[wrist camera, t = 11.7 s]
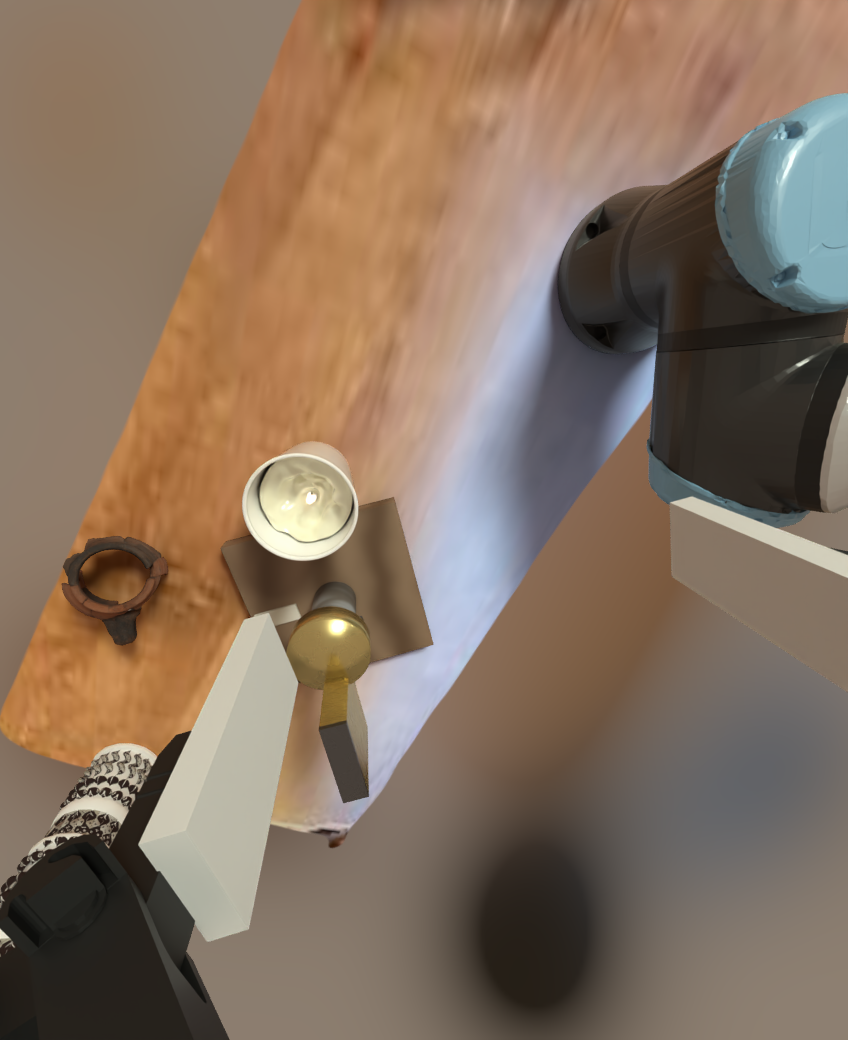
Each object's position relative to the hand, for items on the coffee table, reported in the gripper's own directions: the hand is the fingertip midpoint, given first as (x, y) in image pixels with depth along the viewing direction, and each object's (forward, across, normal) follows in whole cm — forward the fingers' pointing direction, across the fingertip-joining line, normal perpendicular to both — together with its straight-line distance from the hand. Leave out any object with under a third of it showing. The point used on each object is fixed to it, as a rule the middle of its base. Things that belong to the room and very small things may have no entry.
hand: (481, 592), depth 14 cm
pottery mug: (+37, -34, -8) cm, 51 cm away
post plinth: (+37, -12, -17) cm, 42 cm away
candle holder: (+37, -10, -2) cm, 38 cm away
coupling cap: (+26, -12, -21) cm, 36 cm away
